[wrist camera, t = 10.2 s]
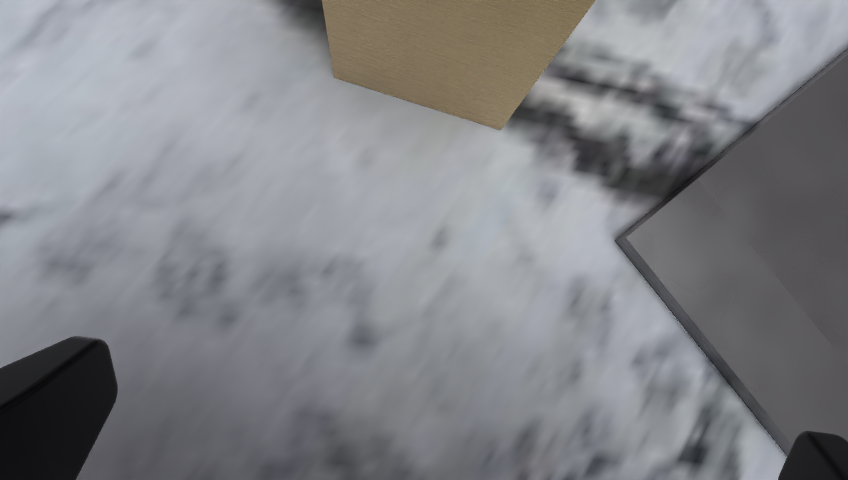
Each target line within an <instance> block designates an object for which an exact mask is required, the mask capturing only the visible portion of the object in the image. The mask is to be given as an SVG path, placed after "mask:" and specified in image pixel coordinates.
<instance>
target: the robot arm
mask: <svg viewBox="0 0 848 480" xmlns="http://www.w3.org/2000/svg"><path fill="white" fill-rule="evenodd" d="M117 392H118V386H117V381H116V376H115V372H114V368H113V364H112V359H111V355H110V351H109V347H108V345H107V344H106V343H105V341H103V340H101V339H96V338H88V337H81V336H74V337H70V338H68V339H65V340H63V341H61V342H59V343H56V344H54V345H52V346H50V347H47V348H45V349H43V350H41V351H38V352H36V353H34V354H31V355H29V356H27V357H25V358H22V359H20V360H18V361H16V362H13V363H11V364H9V365H7V366H4V367H2V368H0V480H76V478H77V476H78V474H79V472H80V470H81V468H82V466H83V465H84V463H85V461H86V459H87V457H88V455H89V453H90V451H91V449H92V447H93V445H94V443H95V441H96V439H97V437H98V435H99V433H100V431H101V429H102V427H103V425H104V423H105V421H106V419H107V418H108V416H109V414H110V412H111V410H112V408H113V406H114V403H115V401H116V398H117ZM778 480H848V441H847V440H845V439H844V438H842V437H841V436H838V435H835V434H830V433H822V432H814V431H804V432H801V433H800V434H799V435H798V436H797V437H796V439H795V441H794V443H793V445H792V448H791V450H790V452H789V454H788V457H787V459H786V461H785V463H784V466H783V468H782V470H781V472H780V475H779V478H778Z"/></svg>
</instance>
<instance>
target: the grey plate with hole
mask: <svg viewBox="0 0 848 480" xmlns="http://www.w3.org/2000/svg"><path fill="white" fill-rule="evenodd" d="M615 241H616V242H617V244H618V245H619V246H620V247H621V249H622V250H623V251H624V252H625V254H626V255H627V256H628V257H629V259H630V260H631V261H632V262H633V264H634V265H635V266H636V267H637V269H638V270H639V271H640V272H641V274H642V275H643V276H644V277H645V279H646V280H647V281H648V282H649V284H650V285H651V286H652V287H653V289H654V290H655V291H656V292H657V294H658V295H659V296H660V297H661V299H662V300H663V301H664V302H665V304H666V305H667V306H668V307H669V309H670V310H671V311H672V312H673V314H674V315H675V316H676V317H677V319H678V320H679V321H680V322H681V324H682V325H683V326H684V327H685V329H686V330H687V331H688V332H689V334H690V335H691V336H692V337H693V339H694V340H695V341H696V342H697V344H698V345H699V346H700V347H701V349H702V350H703V351H704V352H705V354H706V355H707V356H708V357H709V359H710V360H711V361H712V362H713V364H714V365H715V366H716V367H717V369H718V370H719V371H720V372H721V374H722V375H723V376H724V377H725V378H726V380H727V381H728V382H729V383H730V385H731V386H732V387H733V388H734V390H735V391H736V392H737V393H738V395H739V396H740V397H741V398H742V400H743V401H744V402H745V403H746V405H747V406H748V407H749V408H750V410H751V411H752V412H753V413H754V415H755V416H756V417H757V418H758V420H759V421H760V422H761V423H762V425H763V426H764V427H765V428H766V430H767V431H768V432H769V433H770V435H771V436H772V437H773V438H774V440H775V441H776V442H777V443H778V445H779V446H780V447H781V448H782V450H783V451H784V452H785V453H786V455H787V456H788V454H789V452H790V450H791V448H792V445H793V443H794V441H795V439H796V437H797V436H798V435H799V434H800V433H801V432H804V431H814V432H822V433H830V434H835V435H838V436H841V437H842V438H844V439H845V440H847V441H848V49H847V50H846V51H844V52H843V53H842V54H841V55H840V56H838V57H837V58H836V59H835V60H834V61H832V62H831V63H830V64H829V65H827V66H826V67H825V68H824V69H823V70H821V71H820V72H819V73H818V74H817V75H815V76H814V77H813V78H812V79H810V80H809V81H808V82H807V83H806V84H804V85H803V86H802V87H801V88H800V89H798V90H797V91H796V92H795V93H793V94H792V95H791V96H790V97H789V98H787V99H786V100H785V101H784V102H783V103H781V104H780V105H779V106H778V107H777V108H775V109H774V110H773V111H772V112H770V113H769V114H768V115H767V116H766V117H764V118H763V119H762V120H761V121H760V122H758V123H757V124H756V125H755V126H753V127H752V128H751V129H750V130H749V131H747V132H746V133H745V134H744V135H743V136H741V137H740V138H739V139H738V140H736V141H735V142H734V143H733V144H732V145H730V146H729V147H728V148H727V149H726V150H724V151H723V152H722V153H721V154H719V155H718V156H717V157H716V158H715V159H713V160H712V161H711V162H710V163H709V164H707V165H706V166H705V167H704V168H702V169H701V170H700V171H699V172H698V173H696V174H695V175H694V176H693V177H692V178H690V179H689V180H688V181H687V182H686V183H684V184H683V185H682V186H681V187H679V188H678V189H677V190H676V191H675V192H673V193H672V194H671V195H670V196H669V197H667V198H666V199H665V200H664V201H662V202H661V203H660V204H659V205H658V206H656V207H655V208H654V209H653V210H652V211H650V212H649V213H648V214H647V215H645V216H644V217H643V218H642V219H641V220H639V221H638V222H637V223H636V224H635V225H633V226H632V227H631V228H630V229H628V230H627V231H626V232H625V233H624V234H622V235H621V236H620V237H619V238H618V239H616V240H615Z"/></svg>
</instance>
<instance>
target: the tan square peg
mask: <svg viewBox="0 0 848 480" xmlns="http://www.w3.org/2000/svg"><path fill="white" fill-rule="evenodd" d="M594 2H595V0H322V4H323V10H324V16H325V22H326V29H327V35H328V41H329V47H330V54H331V60H332V66H333V73H334V78H337V79H340V80H344V81H347V82H350V83H353V84H356V85H359V86H363V87H366V88H369V89H372V90H375V91H378V92H382V93H385V94H388V95H391V96H394V97H397V98H401V99H404V100H407V101H410V102H413V103H416V104H420V105H423V106H426V107H429V108H432V109H436V110H439V111H442V112H445V113H448V114H451V115H455V116H458V117H461V118H464V119H467V120H470V121H474V122H477V123H480V124H483V125H486V126H489V127H493V128H496V129H499V130H501V129H502V127H503V126H504V125H505V123H506V122H507V121H508V119H509V118H510V116H511V115H512V114H513V112H514V111H515V110H516V108H517V107H518V106H519V104H520V103H521V101H522V100H523V99H524V97H525V96H526V95H527V93H528V92H529V90H530V89H531V88H532V86H533V85H534V84H535V82H536V81H537V80H538V78H539V77H540V75H541V74H542V73H543V71H544V70H545V69H546V67H547V66H548V65H549V63H550V62H551V60H552V59H553V58H554V56H555V55H556V54H557V52H558V51H559V50H560V48H561V47H562V45H563V44H564V43H565V41H566V40H567V39H568V37H569V36H570V34H571V33H572V32H573V30H574V29H575V28H576V26H577V25H578V24H579V22H580V21H581V19H582V18H583V17H584V15H585V14H586V13H587V11H588V10H589V9H590V7H591V6H592V4H593V3H594Z"/></svg>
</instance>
